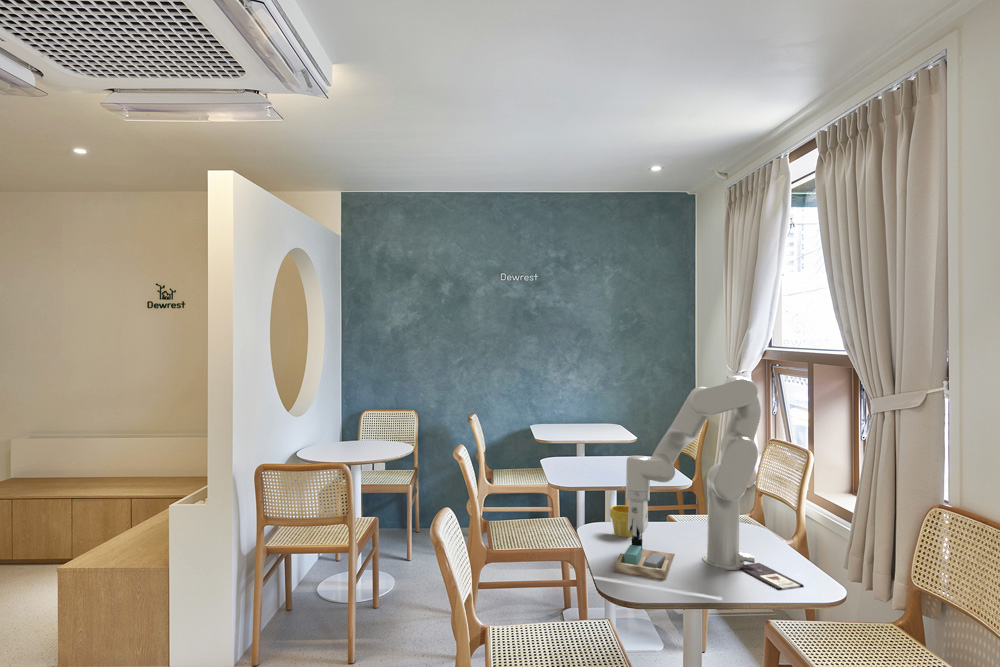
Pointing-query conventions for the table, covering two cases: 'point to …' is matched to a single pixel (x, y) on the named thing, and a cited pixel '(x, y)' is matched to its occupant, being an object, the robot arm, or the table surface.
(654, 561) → the grey rectangular block
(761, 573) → the chocolate bar
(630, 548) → the aqua foam brick
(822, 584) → the table surface
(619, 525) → the plant pot
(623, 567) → the comb board
